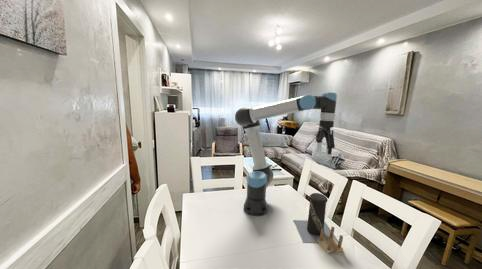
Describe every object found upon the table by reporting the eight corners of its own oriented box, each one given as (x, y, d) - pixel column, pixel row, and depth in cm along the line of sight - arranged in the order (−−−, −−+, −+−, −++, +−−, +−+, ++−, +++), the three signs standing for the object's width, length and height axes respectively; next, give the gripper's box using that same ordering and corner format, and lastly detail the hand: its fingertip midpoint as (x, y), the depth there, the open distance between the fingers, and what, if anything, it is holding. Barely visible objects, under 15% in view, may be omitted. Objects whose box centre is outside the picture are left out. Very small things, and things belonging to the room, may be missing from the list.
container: (303, 231, 102) (307, 195, 99) (309, 223, 109) (313, 190, 106) (320, 238, 97) (324, 201, 94) (325, 230, 104) (330, 195, 100)
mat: (303, 243, 94) (303, 242, 94) (293, 221, 112) (293, 220, 112) (340, 244, 94) (340, 243, 94) (324, 221, 112) (324, 221, 112)
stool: (327, 254, 88) (330, 240, 86) (317, 241, 95) (319, 228, 93) (342, 251, 90) (345, 237, 88) (331, 238, 97) (333, 225, 95)
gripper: (344, 122, 99) (339, 162, 102) (324, 118, 123) (320, 150, 127) (330, 122, 99) (325, 162, 102) (312, 118, 123) (309, 150, 127)
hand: (322, 156), depth 115 cm, fingers open, 13 cm apart
